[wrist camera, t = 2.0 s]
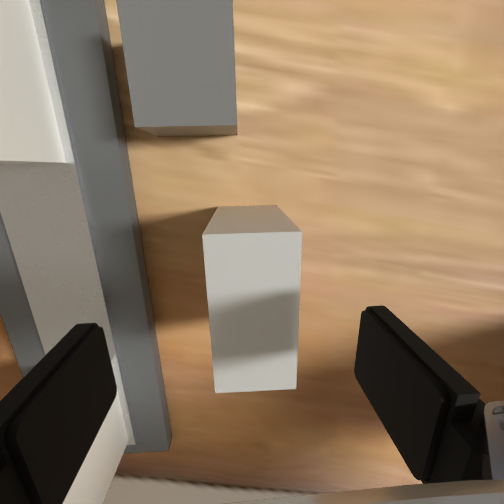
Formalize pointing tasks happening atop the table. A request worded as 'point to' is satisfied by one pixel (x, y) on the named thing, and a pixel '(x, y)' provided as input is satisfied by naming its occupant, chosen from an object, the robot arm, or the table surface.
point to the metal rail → (58, 233)
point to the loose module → (253, 297)
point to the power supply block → (180, 65)
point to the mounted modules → (46, 151)
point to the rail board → (99, 220)
